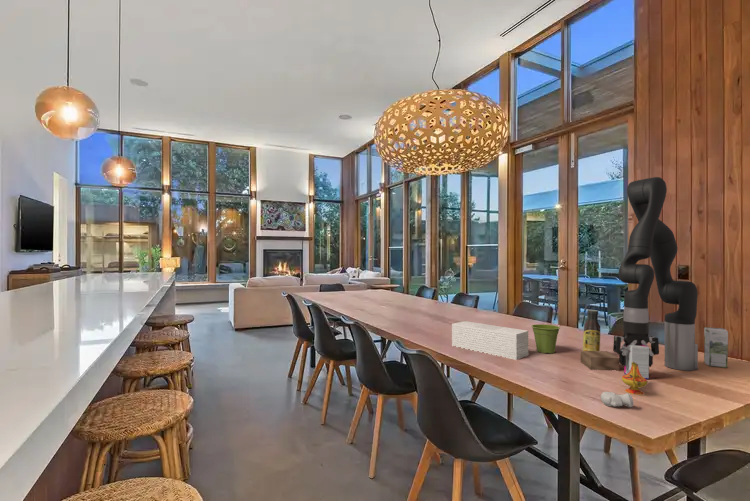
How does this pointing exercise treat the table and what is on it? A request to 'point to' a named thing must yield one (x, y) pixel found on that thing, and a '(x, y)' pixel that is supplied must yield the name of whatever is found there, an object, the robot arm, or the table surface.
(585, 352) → the block
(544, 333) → the plant pot
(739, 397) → the table surface
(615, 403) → the smooth white sculpture
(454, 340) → the white textured block
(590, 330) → the sauce bottle
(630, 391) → the magic lamp
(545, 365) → the table surface
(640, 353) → the supplement box
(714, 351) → the syrup box
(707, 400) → the table surface
